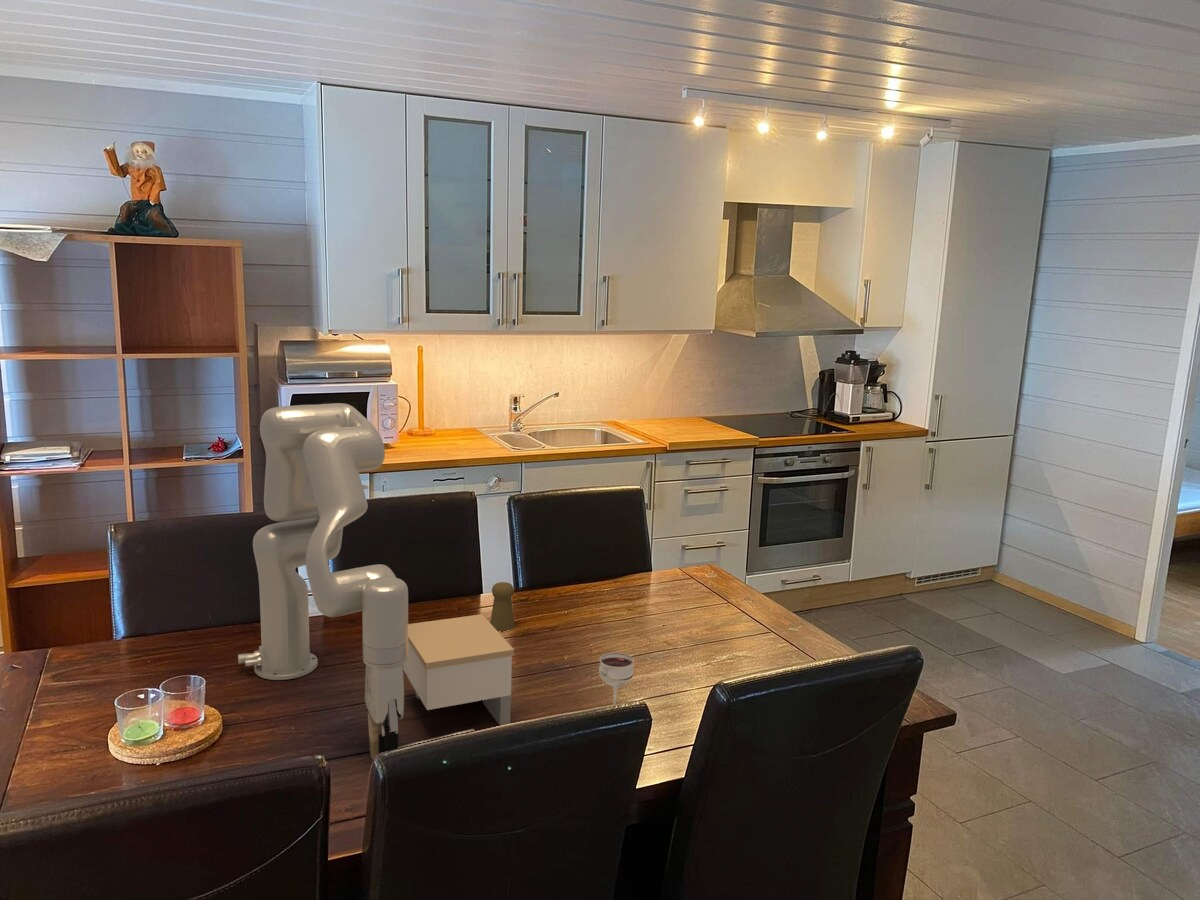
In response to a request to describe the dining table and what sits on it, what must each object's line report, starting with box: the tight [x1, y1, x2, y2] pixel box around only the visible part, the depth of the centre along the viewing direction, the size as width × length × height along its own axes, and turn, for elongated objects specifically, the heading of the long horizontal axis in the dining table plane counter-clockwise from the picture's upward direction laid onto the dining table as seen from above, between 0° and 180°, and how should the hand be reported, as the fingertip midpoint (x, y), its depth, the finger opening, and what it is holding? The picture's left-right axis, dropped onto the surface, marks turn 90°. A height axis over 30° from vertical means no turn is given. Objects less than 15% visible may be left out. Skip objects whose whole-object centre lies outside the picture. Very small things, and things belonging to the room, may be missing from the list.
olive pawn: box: [489, 581, 516, 631], centre depth 210 cm, size 6×6×11 cm
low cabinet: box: [403, 613, 515, 726], centre depth 168 cm, size 17×19×15 cm
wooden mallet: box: [367, 713, 476, 760], centre depth 155 cm, size 18×3×8 cm, turn 116°
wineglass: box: [598, 652, 635, 705], centre depth 168 cm, size 7×7×12 cm
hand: (386, 748), depth 152 cm, fingers closed on wooden mallet, 2 cm apart
